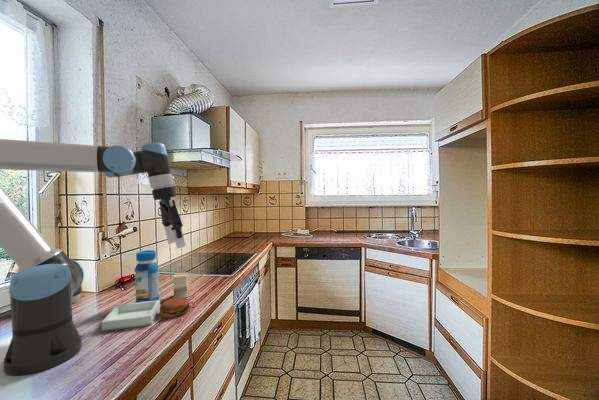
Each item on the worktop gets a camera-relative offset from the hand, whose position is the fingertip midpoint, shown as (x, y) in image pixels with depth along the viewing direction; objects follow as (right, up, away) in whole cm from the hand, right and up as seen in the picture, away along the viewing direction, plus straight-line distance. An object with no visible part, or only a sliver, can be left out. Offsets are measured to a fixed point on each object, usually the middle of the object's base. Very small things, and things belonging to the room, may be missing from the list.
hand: (176, 244), depth 101 cm
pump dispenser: (-48, -25, +9) cm, 55 cm away
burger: (0, -24, -1) cm, 24 cm away
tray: (-12, -24, -6) cm, 28 cm away
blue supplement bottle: (-15, -24, +9) cm, 30 cm away
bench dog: (-5, -24, +15) cm, 28 cm away
